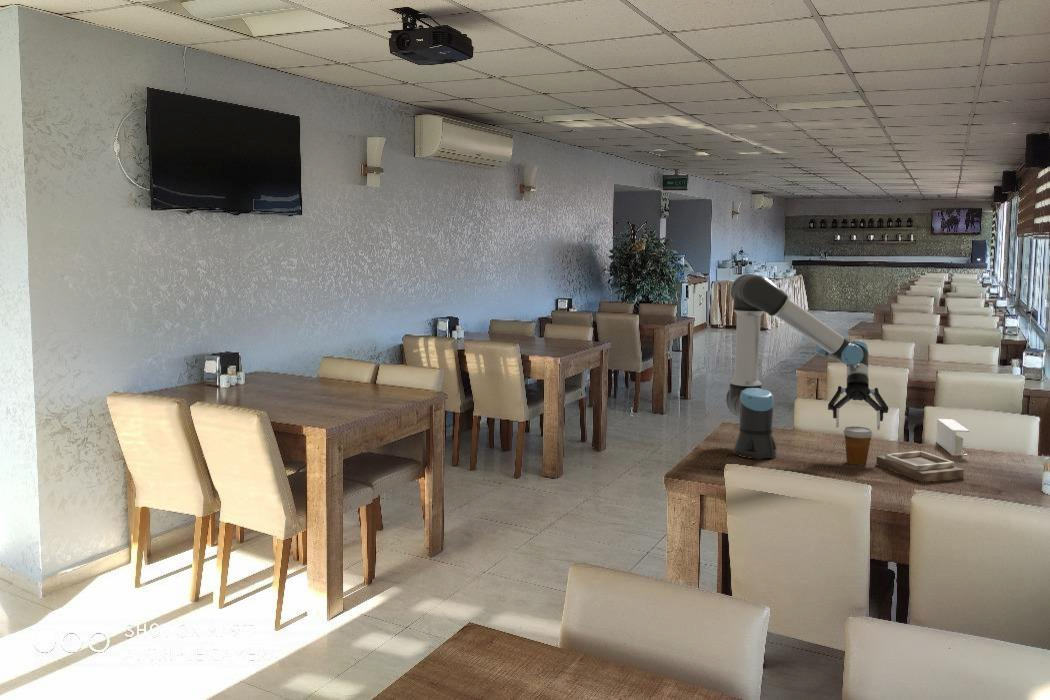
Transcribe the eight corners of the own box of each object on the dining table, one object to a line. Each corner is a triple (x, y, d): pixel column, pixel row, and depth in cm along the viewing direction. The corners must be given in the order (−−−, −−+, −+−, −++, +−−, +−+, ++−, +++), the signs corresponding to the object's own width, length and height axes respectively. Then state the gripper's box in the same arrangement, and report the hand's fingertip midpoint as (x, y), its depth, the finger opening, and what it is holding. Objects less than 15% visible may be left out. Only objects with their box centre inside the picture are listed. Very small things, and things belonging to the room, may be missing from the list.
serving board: (922, 482, 265) (923, 469, 264) (876, 464, 286) (877, 451, 285) (963, 478, 269) (964, 465, 269) (914, 460, 290) (915, 448, 290)
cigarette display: (967, 456, 296) (969, 430, 295) (951, 455, 297) (952, 430, 296) (950, 442, 316) (951, 418, 314) (934, 441, 317) (936, 418, 315)
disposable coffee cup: (836, 462, 289) (838, 428, 288) (851, 457, 295) (853, 424, 293) (861, 468, 282) (863, 433, 280) (876, 463, 288) (878, 429, 286)
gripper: (822, 370, 306) (821, 418, 294) (895, 373, 298) (897, 423, 286) (821, 382, 312) (820, 429, 300) (893, 385, 304) (895, 434, 292)
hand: (857, 426), depth 293 cm, fingers open, 13 cm apart
